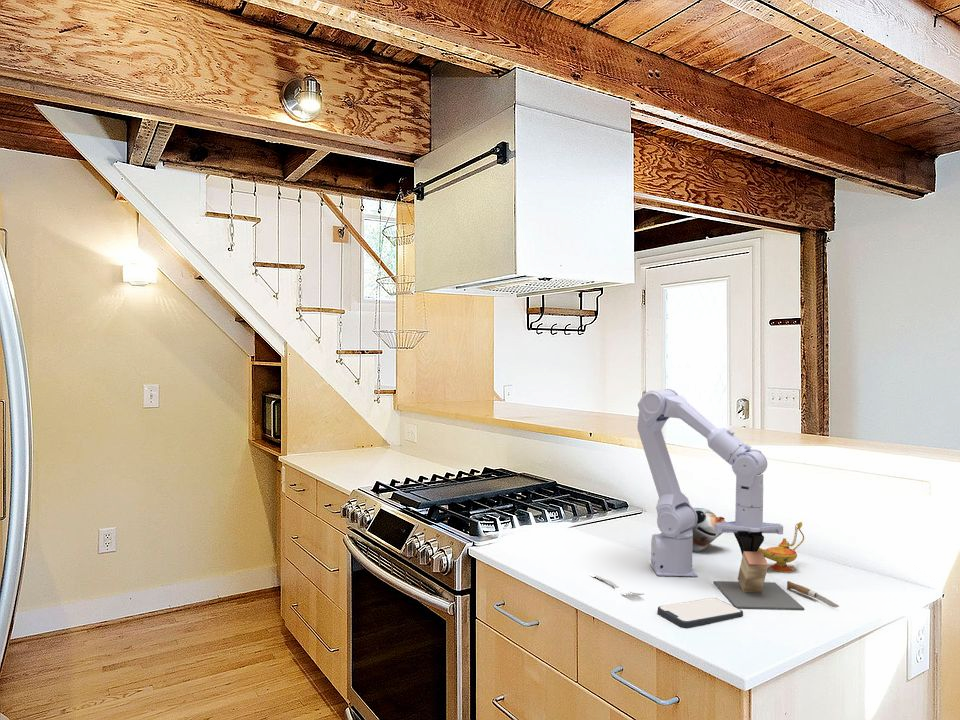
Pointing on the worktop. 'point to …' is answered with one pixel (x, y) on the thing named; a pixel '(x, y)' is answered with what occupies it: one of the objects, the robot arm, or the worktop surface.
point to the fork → (618, 587)
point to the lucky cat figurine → (705, 529)
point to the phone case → (699, 612)
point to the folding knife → (810, 593)
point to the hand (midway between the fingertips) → (748, 564)
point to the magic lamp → (782, 553)
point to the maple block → (752, 571)
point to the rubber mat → (758, 597)
